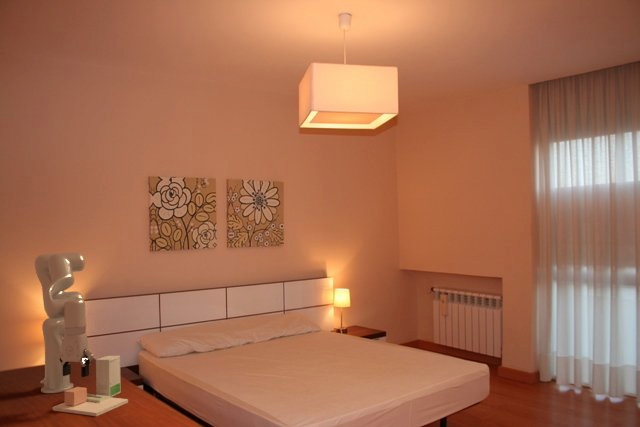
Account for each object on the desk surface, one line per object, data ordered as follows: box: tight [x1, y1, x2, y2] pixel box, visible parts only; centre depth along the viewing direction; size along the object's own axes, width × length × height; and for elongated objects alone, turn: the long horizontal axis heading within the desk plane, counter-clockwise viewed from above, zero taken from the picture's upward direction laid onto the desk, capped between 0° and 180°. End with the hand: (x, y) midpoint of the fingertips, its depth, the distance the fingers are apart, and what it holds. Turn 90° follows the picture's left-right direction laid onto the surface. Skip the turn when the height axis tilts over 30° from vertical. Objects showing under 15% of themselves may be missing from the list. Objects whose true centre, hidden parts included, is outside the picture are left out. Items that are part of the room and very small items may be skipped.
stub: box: [63, 386, 88, 406], centre depth 198 cm, size 5×6×5 cm
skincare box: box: [95, 355, 122, 398], centre depth 211 cm, size 8×7×16 cm
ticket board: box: [52, 393, 129, 417], centre depth 198 cm, size 22×16×2 cm
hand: (75, 375), depth 197 cm, fingers open, 9 cm apart
